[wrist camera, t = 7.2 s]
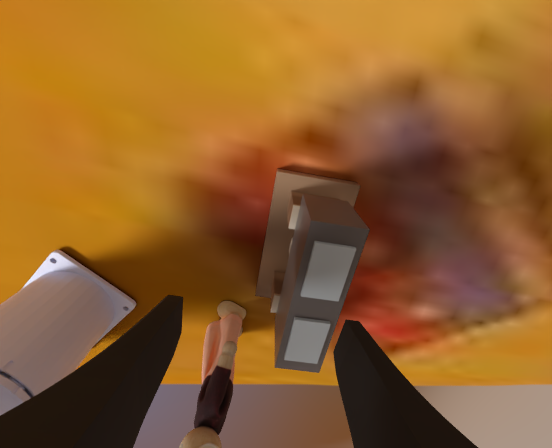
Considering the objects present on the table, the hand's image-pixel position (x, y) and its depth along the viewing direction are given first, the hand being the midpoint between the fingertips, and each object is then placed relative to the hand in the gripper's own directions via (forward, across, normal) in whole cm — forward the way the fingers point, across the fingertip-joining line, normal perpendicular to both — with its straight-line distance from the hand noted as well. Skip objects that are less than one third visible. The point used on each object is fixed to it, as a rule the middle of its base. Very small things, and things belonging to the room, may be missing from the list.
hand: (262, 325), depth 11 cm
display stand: (+10, -3, +1) cm, 11 cm away
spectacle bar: (+6, -3, +1) cm, 7 cm away
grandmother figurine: (+11, +2, +11) cm, 15 cm away
